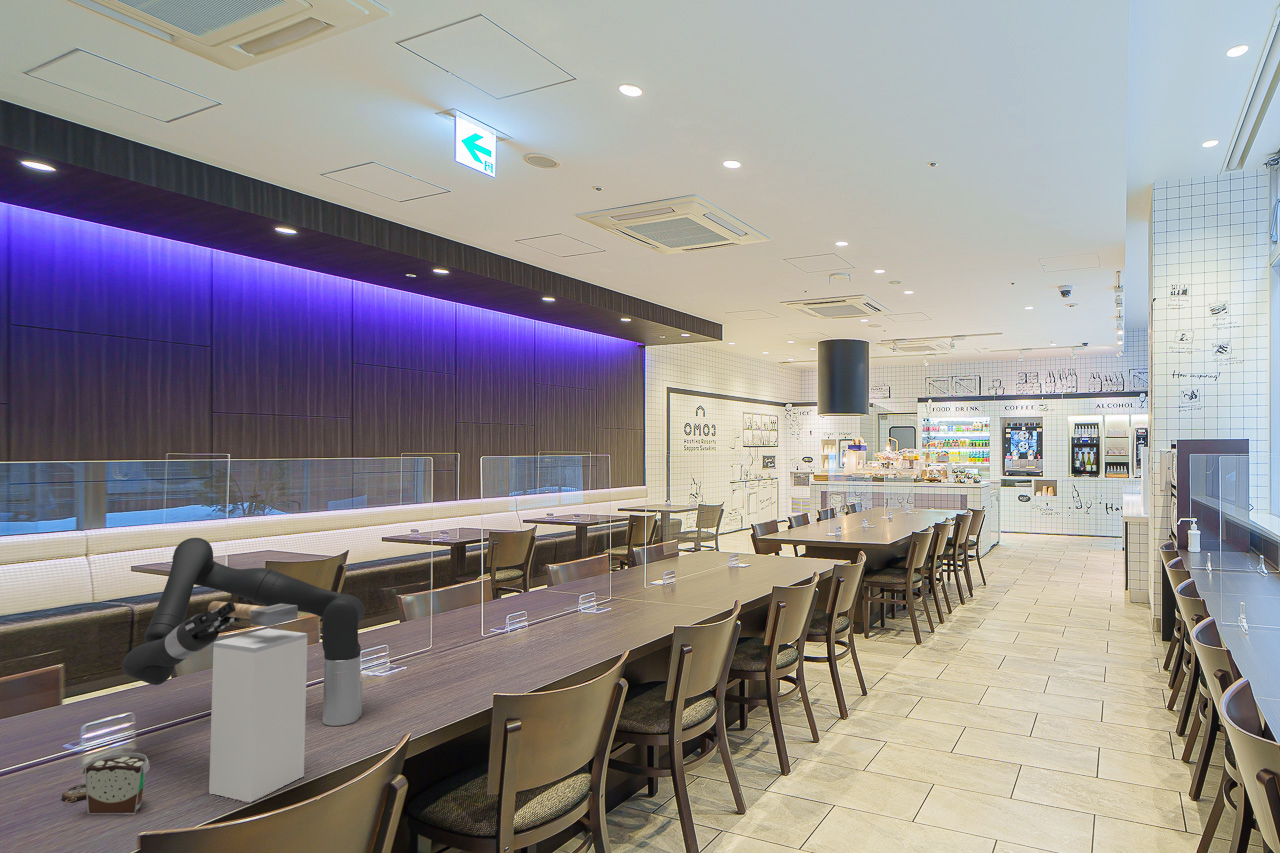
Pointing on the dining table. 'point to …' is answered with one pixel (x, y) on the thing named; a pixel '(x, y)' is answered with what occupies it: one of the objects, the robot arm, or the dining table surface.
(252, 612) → the mallet
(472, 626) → the dining table surface
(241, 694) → the stand
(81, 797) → the compass
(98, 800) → the food container
